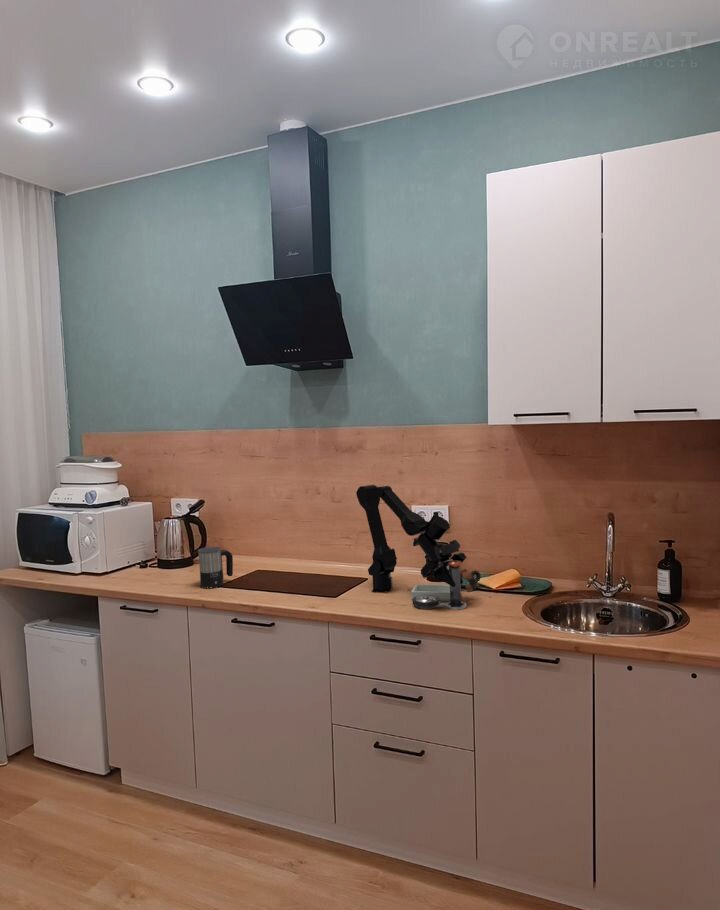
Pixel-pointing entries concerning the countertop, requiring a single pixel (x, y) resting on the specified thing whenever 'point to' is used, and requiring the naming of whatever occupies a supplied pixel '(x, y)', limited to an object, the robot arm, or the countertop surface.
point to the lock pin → (455, 575)
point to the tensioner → (433, 603)
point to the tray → (432, 591)
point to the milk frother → (213, 566)
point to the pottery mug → (470, 579)
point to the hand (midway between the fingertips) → (458, 584)
